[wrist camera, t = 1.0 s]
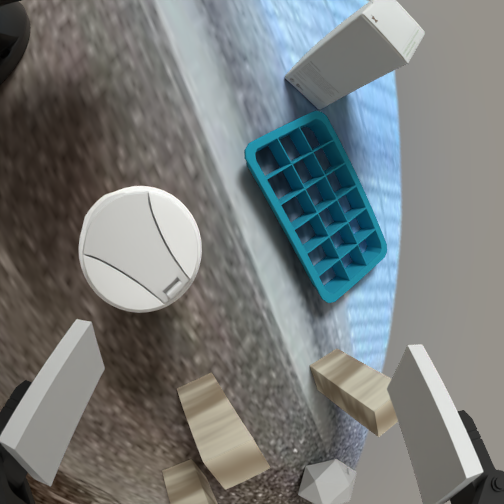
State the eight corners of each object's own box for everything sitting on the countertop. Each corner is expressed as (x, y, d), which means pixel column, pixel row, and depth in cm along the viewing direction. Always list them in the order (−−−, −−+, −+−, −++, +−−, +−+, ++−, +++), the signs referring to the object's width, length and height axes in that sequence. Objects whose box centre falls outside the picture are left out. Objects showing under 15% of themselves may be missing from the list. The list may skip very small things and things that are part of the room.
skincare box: (317, 112, 36) (409, 68, 21) (279, 75, 34) (358, 12, 19) (346, 77, 37) (429, 34, 23) (312, 43, 35) (387, -13, 20)
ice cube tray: (308, 114, 36) (321, 107, 33) (374, 250, 41) (389, 252, 38) (231, 153, 33) (240, 147, 30) (314, 302, 38) (327, 308, 35)
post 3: (309, 365, 38) (374, 411, 26) (336, 348, 40) (405, 386, 28) (318, 391, 40) (378, 438, 27) (343, 374, 41) (407, 414, 29)
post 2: (176, 388, 32) (203, 462, 20) (211, 372, 34) (253, 438, 22) (194, 417, 33) (226, 491, 21) (227, 402, 35) (271, 469, 23)
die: (335, 472, 44) (376, 471, 37) (313, 512, 38) (353, 518, 31) (304, 451, 45) (344, 448, 37) (278, 492, 39) (316, 499, 31)
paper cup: (191, 242, 32) (232, 255, 19) (136, 294, 30) (139, 343, 17) (141, 184, 29) (146, 153, 16) (85, 236, 28) (47, 246, 15)
